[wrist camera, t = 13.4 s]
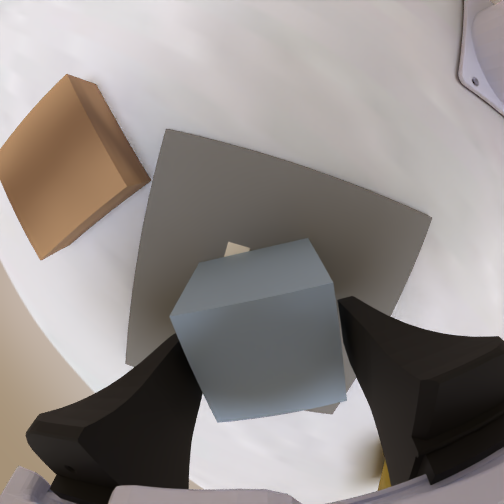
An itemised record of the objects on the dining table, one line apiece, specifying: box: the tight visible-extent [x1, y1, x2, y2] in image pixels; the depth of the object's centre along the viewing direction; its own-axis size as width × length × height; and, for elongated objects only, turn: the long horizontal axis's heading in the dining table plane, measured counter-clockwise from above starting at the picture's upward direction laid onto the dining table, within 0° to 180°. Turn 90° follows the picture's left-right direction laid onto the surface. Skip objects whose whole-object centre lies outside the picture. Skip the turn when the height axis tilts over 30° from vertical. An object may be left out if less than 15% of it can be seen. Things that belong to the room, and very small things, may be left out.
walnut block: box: [0, 74, 151, 260], centre depth 12 cm, size 6×6×3 cm
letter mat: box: [125, 129, 432, 414], centre depth 14 cm, size 13×13×1 cm
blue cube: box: [169, 238, 347, 422], centre depth 12 cm, size 5×5×5 cm
